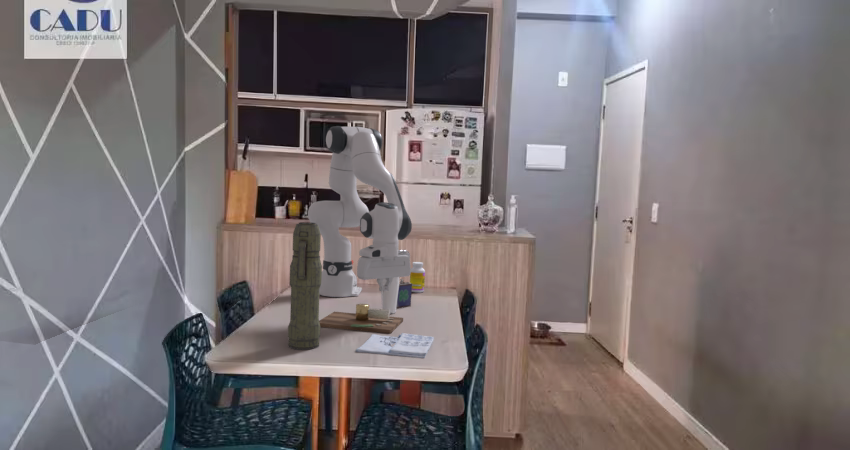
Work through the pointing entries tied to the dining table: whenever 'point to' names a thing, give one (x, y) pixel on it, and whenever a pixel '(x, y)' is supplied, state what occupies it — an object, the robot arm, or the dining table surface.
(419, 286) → the supplement bottle
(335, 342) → the dining table surface
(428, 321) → the dining table surface
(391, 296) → the drinking glass
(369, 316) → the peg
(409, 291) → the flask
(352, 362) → the dining table surface
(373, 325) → the dial board
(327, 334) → the dining table surface
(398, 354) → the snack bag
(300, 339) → the thermos
